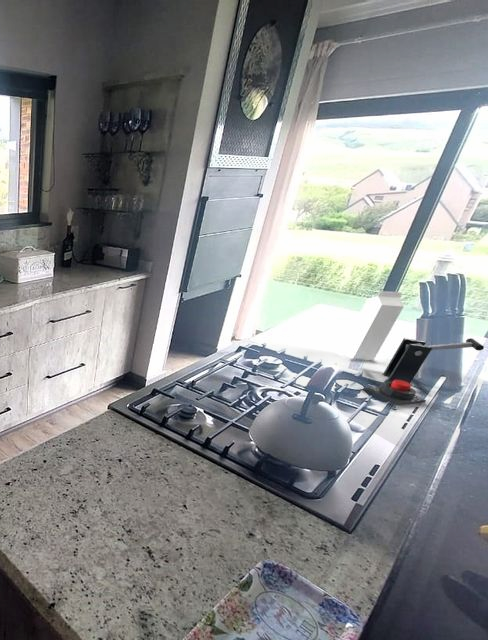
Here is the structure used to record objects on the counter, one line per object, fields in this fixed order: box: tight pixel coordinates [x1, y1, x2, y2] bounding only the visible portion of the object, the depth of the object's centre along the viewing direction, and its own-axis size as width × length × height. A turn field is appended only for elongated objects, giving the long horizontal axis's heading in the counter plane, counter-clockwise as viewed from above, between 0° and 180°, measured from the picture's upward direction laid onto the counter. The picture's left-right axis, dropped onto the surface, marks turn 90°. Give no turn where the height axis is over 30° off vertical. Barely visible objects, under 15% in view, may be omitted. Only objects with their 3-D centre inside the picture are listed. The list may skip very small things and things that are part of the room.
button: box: [391, 380, 412, 392], centre depth 104 cm, size 3×3×2 cm
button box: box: [365, 380, 427, 411], centre depth 105 cm, size 9×8×4 cm
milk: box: [340, 290, 405, 361], centre depth 122 cm, size 6×6×22 cm
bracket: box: [382, 337, 433, 384], centre depth 111 cm, size 11×9×13 cm
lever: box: [406, 338, 485, 352], centre depth 106 cm, size 13×5×2 cm, turn 63°
